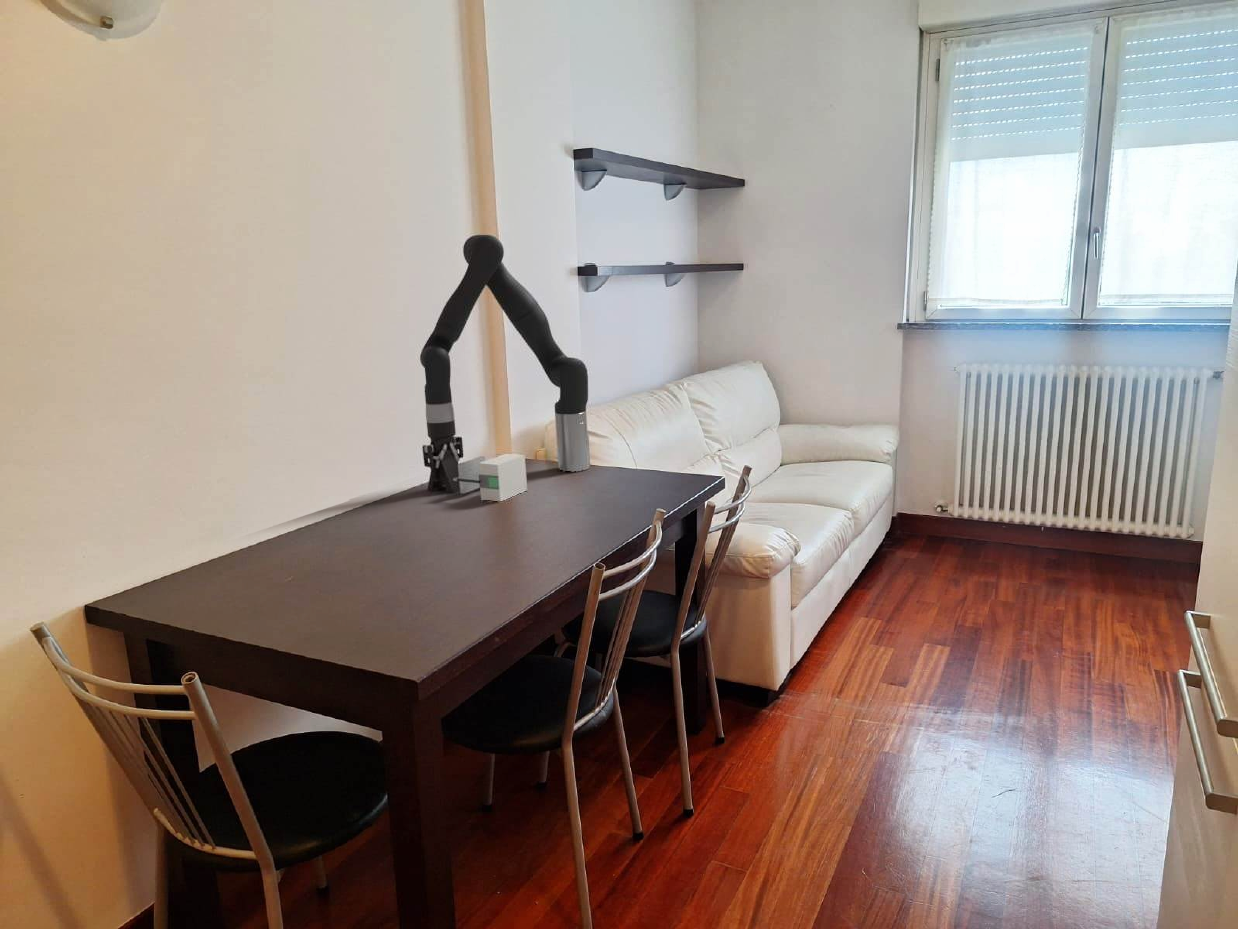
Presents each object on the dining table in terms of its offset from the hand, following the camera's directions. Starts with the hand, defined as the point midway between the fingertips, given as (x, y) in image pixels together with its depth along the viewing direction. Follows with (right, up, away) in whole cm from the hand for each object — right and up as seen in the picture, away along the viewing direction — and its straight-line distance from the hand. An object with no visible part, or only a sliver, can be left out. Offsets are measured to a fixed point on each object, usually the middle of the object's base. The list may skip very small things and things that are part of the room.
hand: (445, 477), depth 233 cm
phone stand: (0, -4, +1) cm, 4 cm away
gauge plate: (+11, -3, -7) cm, 14 cm away
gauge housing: (+17, -5, -9) cm, 20 cm away
